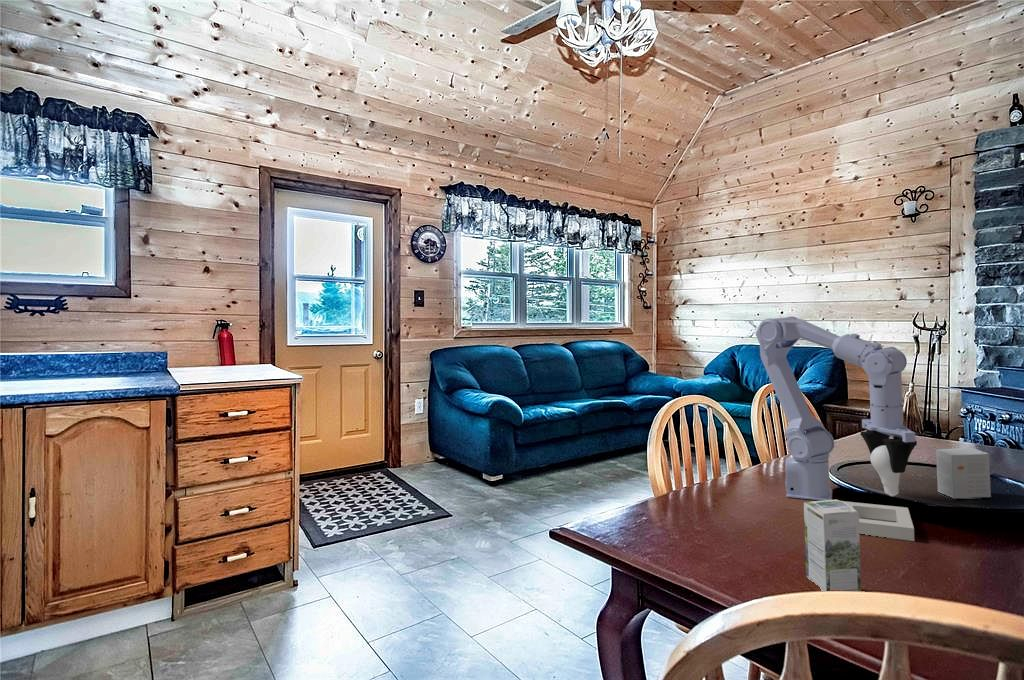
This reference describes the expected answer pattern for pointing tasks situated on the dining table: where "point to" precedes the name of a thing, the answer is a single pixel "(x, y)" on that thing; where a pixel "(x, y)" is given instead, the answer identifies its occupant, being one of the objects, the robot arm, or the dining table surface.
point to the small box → (963, 472)
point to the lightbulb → (885, 470)
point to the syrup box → (832, 545)
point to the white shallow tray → (884, 528)
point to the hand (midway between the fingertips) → (888, 468)
